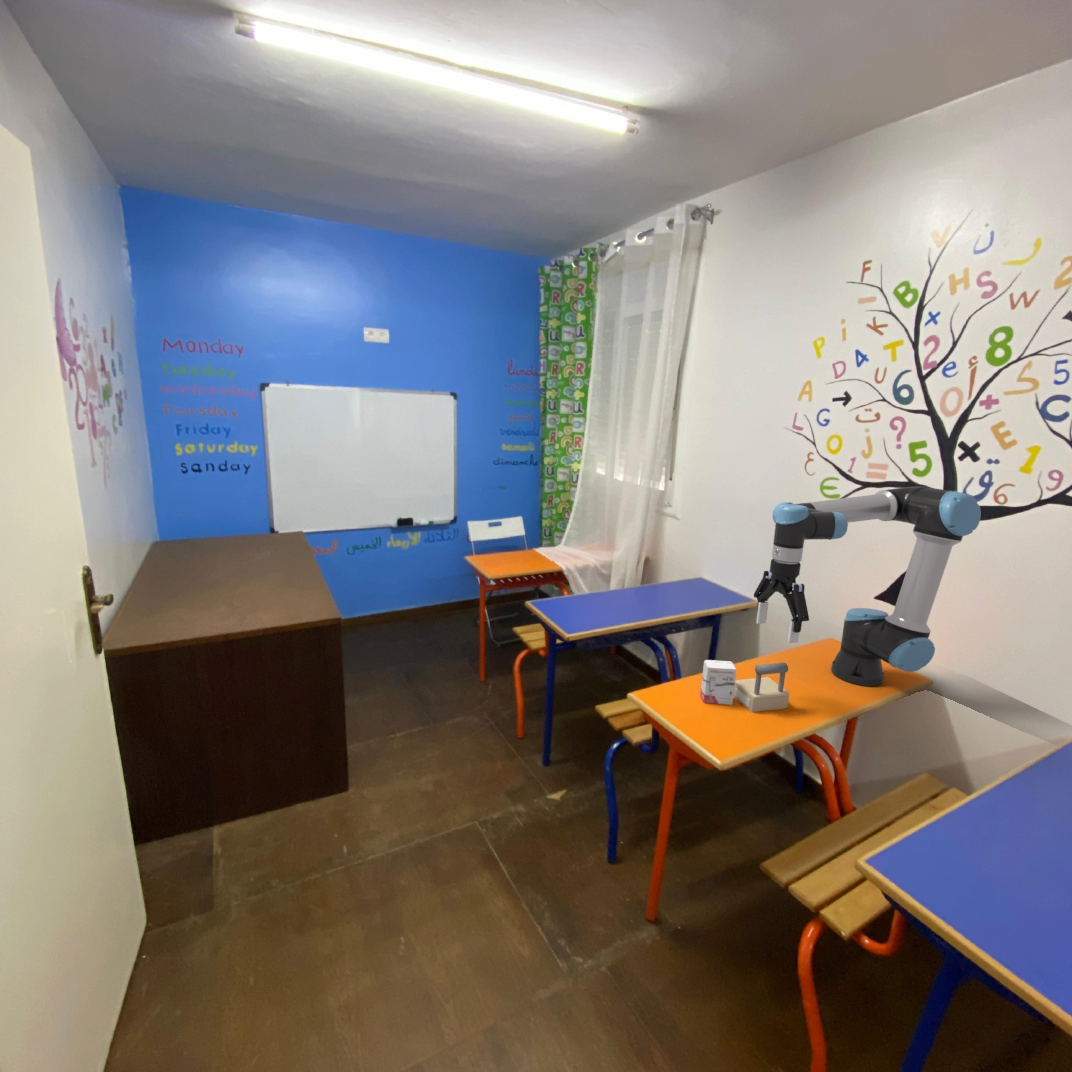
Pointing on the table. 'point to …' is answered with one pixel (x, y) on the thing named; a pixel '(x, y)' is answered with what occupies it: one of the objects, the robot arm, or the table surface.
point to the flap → (765, 682)
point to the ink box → (718, 682)
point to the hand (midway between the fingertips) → (776, 632)
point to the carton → (760, 701)
